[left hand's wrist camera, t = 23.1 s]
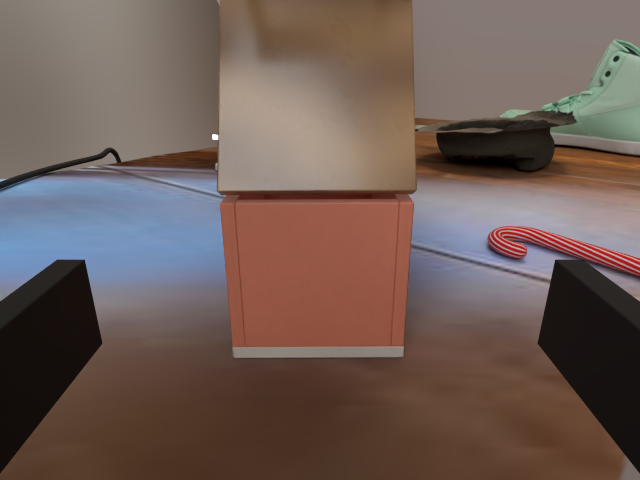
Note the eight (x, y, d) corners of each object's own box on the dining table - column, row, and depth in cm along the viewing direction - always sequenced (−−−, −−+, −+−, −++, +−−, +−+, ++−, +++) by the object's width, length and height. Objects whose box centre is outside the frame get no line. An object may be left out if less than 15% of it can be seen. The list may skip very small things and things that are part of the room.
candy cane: (662, 315, 30) (669, 295, 29) (473, 246, 41) (475, 231, 40) (694, 290, 33) (700, 272, 32) (510, 233, 44) (513, 219, 44)
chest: (260, 267, 37) (254, 157, 34) (376, 266, 37) (381, 157, 34) (233, 358, 26) (219, 203, 22) (403, 357, 26) (414, 202, 22)
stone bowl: (605, 172, 68) (615, 110, 65) (450, 191, 66) (452, 128, 62) (516, 145, 91) (520, 98, 87) (398, 158, 88) (398, 110, 85)
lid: (224, -54, 24) (168, -245, 15) (407, -55, 24) (457, -246, 15) (220, 195, 22) (158, 144, 14) (413, 194, 22) (471, 142, 14)
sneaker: (510, 134, 112) (522, 46, 105) (678, 150, 88) (710, 38, 81) (482, 139, 103) (494, 44, 96) (661, 159, 79) (695, 34, 72)
